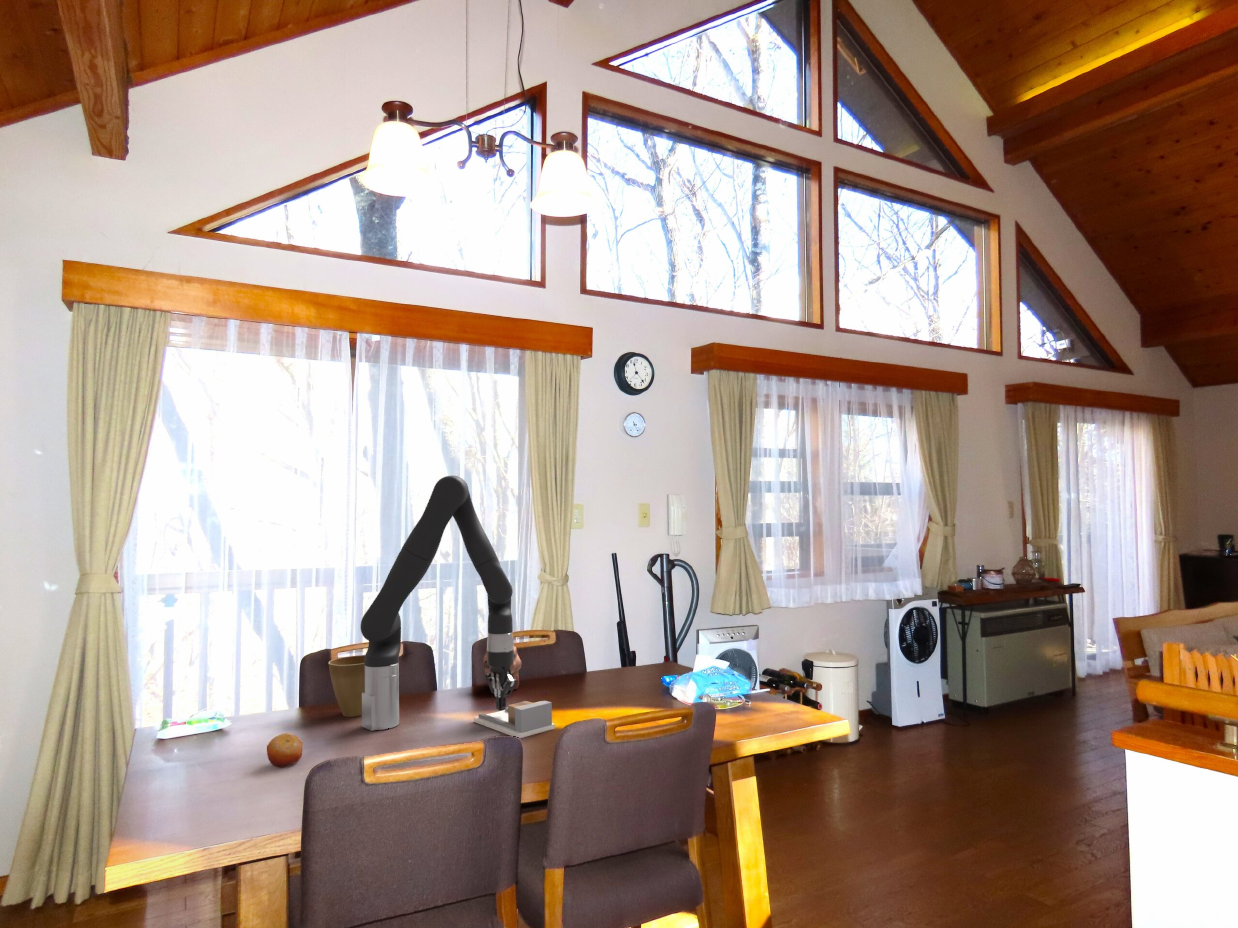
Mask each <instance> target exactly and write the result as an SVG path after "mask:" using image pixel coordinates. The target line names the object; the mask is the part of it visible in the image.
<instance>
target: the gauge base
mask: <svg viewBox="0 0 1238 928" xmlns="http://www.w3.org/2000/svg"><path fill="white" fill-rule="evenodd" d="M540 701H541V702H539V701H537V703H535V702H532V703H533V704H529V705H525V706H520V707H516V708H515V725H514V724H512V723H509V722H508V706H506V709H505V710H502V711H499V710H498V711H496V712H491V713H487V714H485V713H483V712H481V713H478V716H475V717H473V722H474V723H476V724H479V725H482V726H484V727H487V728H490V729H492V730H495V731H497V732H500V733H503V734H505V735H509V736H510V737H513V736H516V737H519V738H518V739H523V738H527V737H529V736H533V735H537V734H540V733H543V732H544V733H545V732H548V731H552V730H555V729H556V724H555V723H553V713H552V711H553V709H552V703H553V702H551V701H547V700H540ZM516 737H515V738H516Z"/></svg>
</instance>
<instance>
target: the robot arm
mask: <svg viewBox="0 0 1238 928" xmlns="http://www.w3.org/2000/svg"><path fill="white" fill-rule="evenodd" d="M452 518H453V519H454V521H455V523H456V524H457V528H458V529H459V532H460V536H461V538H462V540H463V541H462V542H463V544H464V547H465V549H466V553H467V555H468V556H469V558H470V561H471V563H472V565H473V567H474V569H475V571H476V572H477V574H478V575H479V577H480V580H481V582H482V584H483V587H484V589H485V592H486V594H487V609H488V616H487V637H486V638H487V639H486V649H487V665H488V666H490V667H491V668H490V673H489V674H485V680H486V681H487V685H488V687H489V690H490V693H492V694H493V695H494V697H495V707H496V708H495V709H496V711H498V712H499V711H503V710H505V709H506V707H507V705H506V704H507V699H506V698H507V697H508V696H511V695H512V692H513V691H514V690H515V689H514V687H515V685H516V682H517V681H516V679H513V678H512V677H511V669H510V667H511V665H513V664H514V646H515V645H514V644H515V643H514V632H513V629H514V628H513V624H514V622H513V614H512V597H513V594H514V593H513V586H512V584H511V582H510V581H509V579H508V577H507V575H506V573H505V571H504V570H503V568H502V566H501V564H500V560H499V557H498V556H497V553H496V551H495V550H494V548H493V545H492V544H491V542H490V539H489V538H488V537H489V536H488V535H487V533H486V531H485V529H484V528H483V526H482V523H481V522H480V519H479V517H478V515H477V513H476V510H475V507H474V504H473V501H472V497H471V493H470V491H469V486H468V484H467V482H466V481H465V479H463V478H462V477H460V476H458V475H447V476H444V477H441V478H440V479H439V480H438V481H436V483H435V484H434V486H433V490H432V491H431V493H430V497H429V499H428V502H427V504H426V506H425V509H424V510H423V513H422V515H421V517H420V519H419V520H418V521H417V523H416V524H415V526H414V527H413V529H412V531H410V533H409V535H408V537H407V539H406V541H405V542H404V543H403V544H402V547H401V549H400V551H399V553H398V555H397V556H396V558H395V561H394V563H393V565H392V567H391V569H390V570H389V573H388V575H387V577H386V578H385V581H384V583H383V585H382V588H381V589H380V591H379V592H378V594H377V596H376V597H375V598H374V600H373V601H372V603H371V605H370V606H369V608H368V609H366V611H365V613H364V615H363V616H362V617H361V621H360V632H361V635H362V636H363V638H364V639H365V640H367V641H368V647H367V649H366V653H365V654H364V655H365V658H364V665H365V692H362V715H361V727H362V728H364V729H367V730H369V731H371V732H372V731H378V730H379V731H381V730H387V729H388V728H389V729H393V728H395V727H398V725H399V724H400V699H399V698H400V692H399V691H400V687H399V686H400V685H399V684H400V681H399V676H400V672H399V657H400V652H401V648H402V647H401V646H402V641H401V640H402V620H401V615H400V613H399V612H400V611H401V608H402V606H403V604H404V602H405V601H406V599H407V598H408V597H409V596H410V595H411V594H412V592H413V590H414V589H416V587H417V585H419V584H420V582H421V581H422V579H423V578H424V577H425V575H426V573H427V572H428V571H429V569H430V566H431V564H432V563H433V561H434V560H435V556H436V554H437V552H438V551H439V550H438V549H439V547H440V544H441V541H442V537H443V535H444V532H445V530H446V527H447V525H448V524H449V523H450V521H451V519H452Z"/></svg>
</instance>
